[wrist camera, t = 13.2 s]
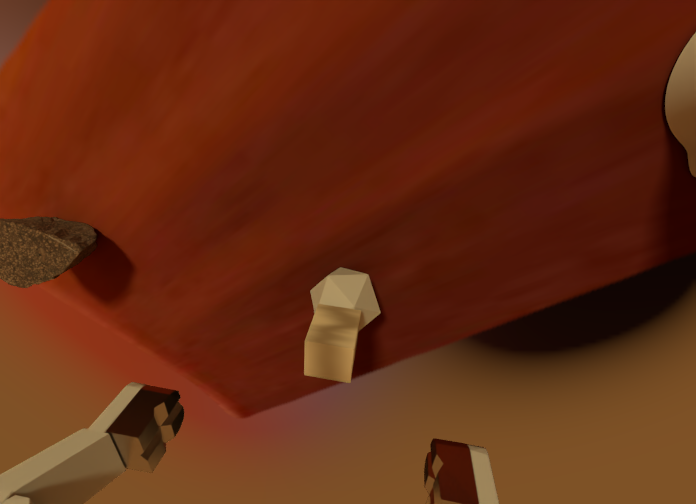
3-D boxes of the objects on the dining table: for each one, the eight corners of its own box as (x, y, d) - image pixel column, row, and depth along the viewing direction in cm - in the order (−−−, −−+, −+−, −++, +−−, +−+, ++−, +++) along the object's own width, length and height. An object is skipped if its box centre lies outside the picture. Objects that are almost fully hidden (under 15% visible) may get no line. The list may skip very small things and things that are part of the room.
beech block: (361, 310, 38) (354, 349, 33) (357, 342, 40) (350, 383, 35) (318, 303, 38) (304, 340, 33) (316, 335, 41) (304, 374, 36)
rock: (87, 219, 41) (70, 296, 41) (123, 228, 51) (110, 290, 50) (-27, 201, 39) (-47, 282, 38) (33, 214, 49) (18, 279, 48)
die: (306, 280, 47) (311, 349, 43) (313, 252, 40) (320, 332, 36) (361, 278, 49) (371, 344, 45) (378, 252, 42) (392, 327, 38)
